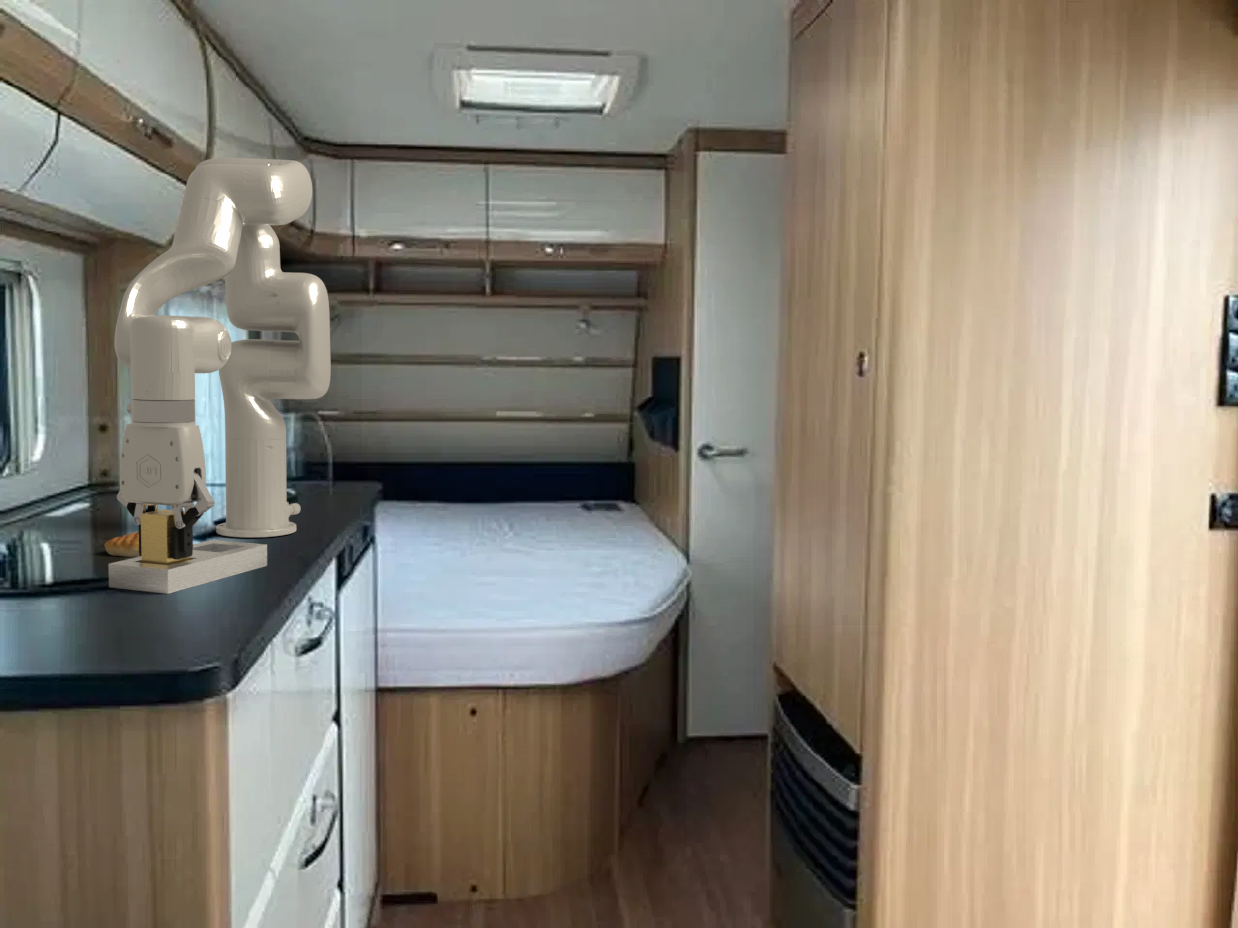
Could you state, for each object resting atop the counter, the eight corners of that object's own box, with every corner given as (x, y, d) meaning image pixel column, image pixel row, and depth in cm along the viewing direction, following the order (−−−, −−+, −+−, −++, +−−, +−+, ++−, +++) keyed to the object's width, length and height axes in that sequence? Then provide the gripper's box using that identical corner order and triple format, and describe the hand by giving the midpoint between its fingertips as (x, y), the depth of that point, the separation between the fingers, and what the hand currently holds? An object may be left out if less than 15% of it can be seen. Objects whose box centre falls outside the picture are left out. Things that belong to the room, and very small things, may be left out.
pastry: (98, 559, 158) (97, 532, 158) (113, 551, 165) (113, 526, 165) (167, 559, 159) (166, 532, 159) (179, 551, 166) (179, 526, 166)
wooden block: (164, 569, 145) (162, 509, 144) (189, 572, 144) (188, 511, 143) (142, 575, 141) (140, 513, 140) (167, 578, 140) (166, 515, 139)
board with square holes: (213, 560, 158) (213, 539, 158) (267, 565, 155) (267, 544, 155) (108, 587, 139) (108, 563, 139) (168, 593, 136) (167, 569, 136)
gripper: (87, 412, 139) (90, 555, 141) (199, 418, 134) (201, 566, 136) (131, 410, 146) (133, 546, 148) (238, 415, 141) (240, 556, 143)
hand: (166, 554), depth 142 cm, fingers open, 4 cm apart
